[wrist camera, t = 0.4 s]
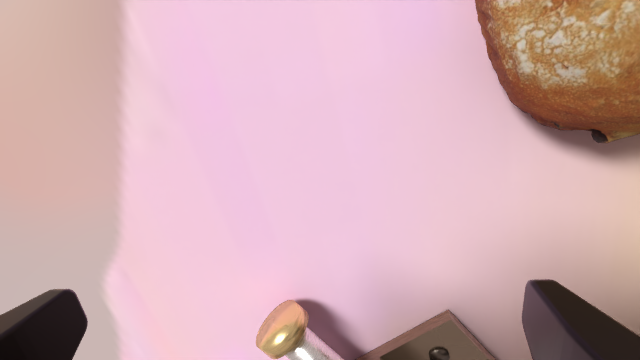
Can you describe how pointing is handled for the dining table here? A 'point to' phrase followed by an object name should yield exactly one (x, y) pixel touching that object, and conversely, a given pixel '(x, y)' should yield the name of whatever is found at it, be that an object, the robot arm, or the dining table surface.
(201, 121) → the dining table surface
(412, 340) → the hinge
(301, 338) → the pin
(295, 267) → the dining table surface
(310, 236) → the dining table surface
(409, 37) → the dining table surface
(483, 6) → the bread roll
